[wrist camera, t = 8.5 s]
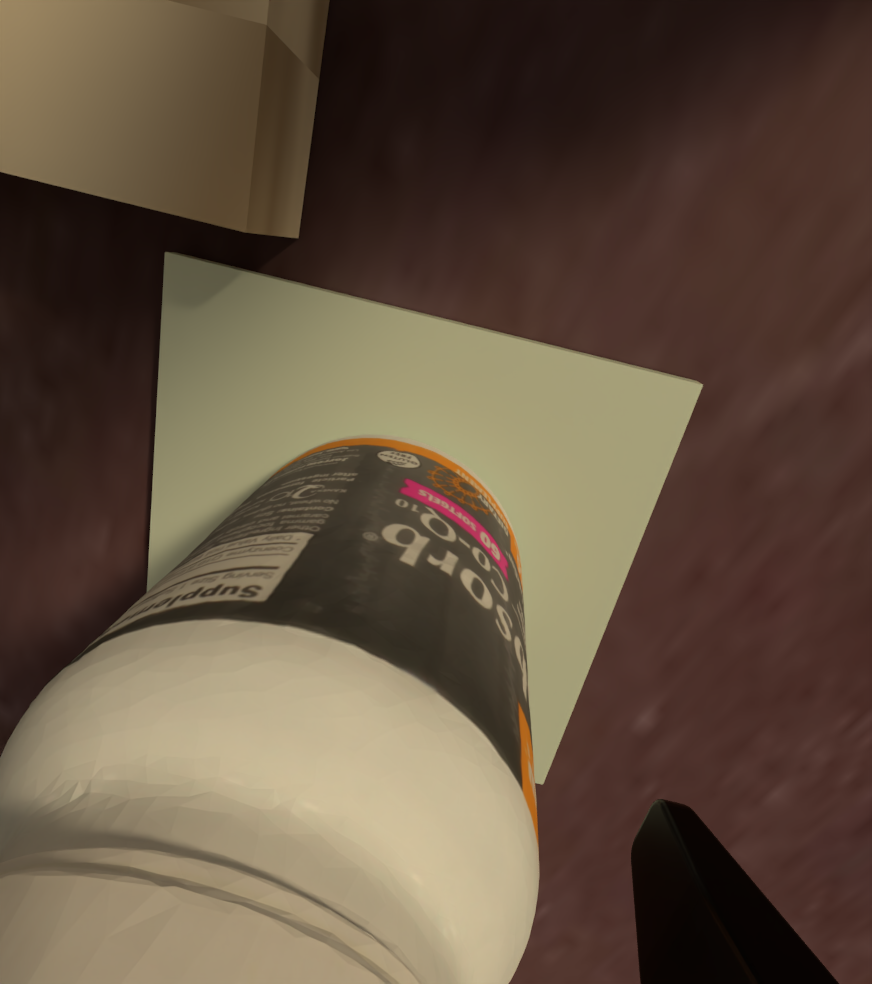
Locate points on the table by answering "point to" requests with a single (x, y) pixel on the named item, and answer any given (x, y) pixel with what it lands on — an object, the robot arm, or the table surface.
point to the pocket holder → (166, 103)
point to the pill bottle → (291, 750)
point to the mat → (417, 437)
